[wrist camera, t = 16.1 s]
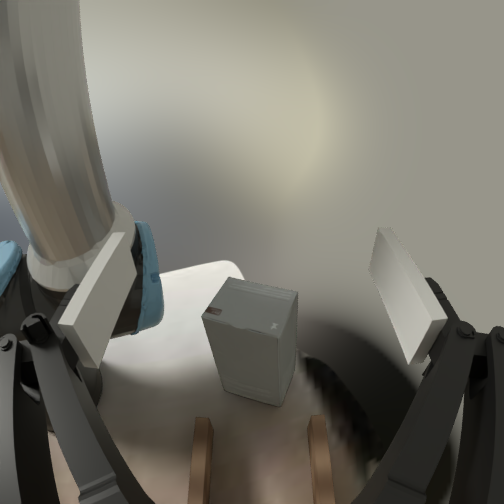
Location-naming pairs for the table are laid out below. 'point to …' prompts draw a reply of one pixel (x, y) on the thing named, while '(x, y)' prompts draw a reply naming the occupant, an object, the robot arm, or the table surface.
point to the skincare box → (253, 338)
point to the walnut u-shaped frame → (318, 460)
